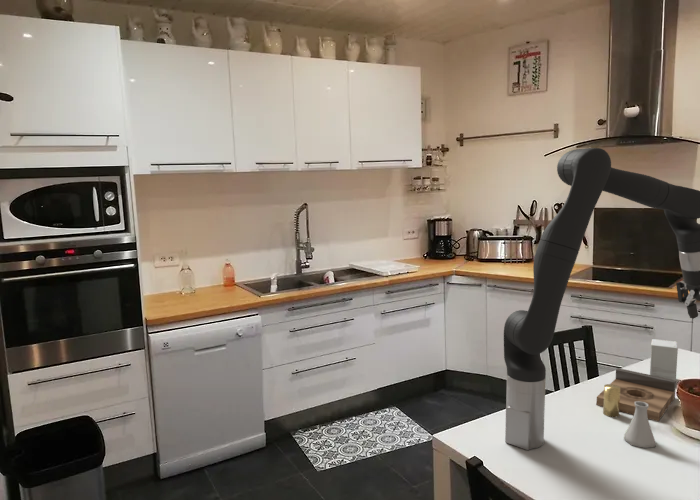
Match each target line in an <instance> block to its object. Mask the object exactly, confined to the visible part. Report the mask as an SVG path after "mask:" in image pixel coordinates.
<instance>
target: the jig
mask: <svg viewBox="0 0 700 500" xmlns="http://www.w3.org/2000/svg"><path fill="white" fill-rule="evenodd" d="M610 384H613V385H617V386H619V387H620V405H619V412H621V413H625V414H629V415H633V416H634V413H635V409H636V406H635V402H637V401H641V402H645V403H647V404H649V408H647V416H648V420H652V421H656V422H659V421H660V420H661V418H662V417H663V416H664V414H665V413H666V412H667V410H668V409H669V407H670V406H671V404H672V403H673V401H674V400H675V399H676V389H677V388H676V386H677V385H676V384H677V379H676V380H672V379H667V378H663V377H658V376H653V375H650V374H647V373H643V372H638V371H633V370H629V369H624V368H620V367H619V368H618V367H617V368H616V369H615V378H614V379H613V381H612V382H610ZM671 402H672V403H671ZM603 403H604V389H603V390H602V391H601V392H600V393H599V394H597V396H596V404H595V405H596V406H599V407H602V408H603ZM669 405H670V406H669Z"/></svg>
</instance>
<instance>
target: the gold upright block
mask: <svg viewBox="0 0 700 500" xmlns="http://www.w3.org/2000/svg"><path fill="white" fill-rule="evenodd" d="M603 390H604V403H603V407H602V409H603V410H602V414H603V415H604V416H606V417H609V418H618V417H619V416H620V411H619V405H620V387H619V386H617V385H613V384H611V383H609V384H604V387H603Z"/></svg>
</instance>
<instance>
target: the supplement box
mask: <svg viewBox="0 0 700 500" xmlns="http://www.w3.org/2000/svg"><path fill="white" fill-rule="evenodd" d="M678 351H679V348H678V342H677V341H674V340H673V341H672V340H666V339H665V340H664V339H655V338H654V339H653V338H652V339H651V343H650V361H649V363H650V364H649V365H650V366H649V367H650V368H649V375H653V376H658V377H663V378H667V379H672V380H676V381H677V372H678V371H677V369H678V368H677V367H678Z"/></svg>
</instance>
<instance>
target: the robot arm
mask: <svg viewBox="0 0 700 500" xmlns="http://www.w3.org/2000/svg"><path fill="white" fill-rule="evenodd" d="M557 162H558V163H557V165H556V172H557V175H558V177H559V179H560V180H561V182H563V183H564V184H566V185H567V186H570V190H569V192H568V196H567V197H566V200H565V202H564V204H563V205H562V207H561V208H560V209H559V211H558V213H557V214H555V216H554V217H553V218H552V219H551V220H550V222H549V223H548V224H547V226H546V228H545V229H544V230H543V232H542V234H541V237H540V240H539V242H538V245H537V247H536V250H535V254H534V259H533V269H532V270H533V294H532V299H531V301H530V304H529V306H528V309H527V310H523V309H520V310H515V311H514V312H511V314H510V315H509V316H508V317H507V318H506V320H505V323H504V327H503V359H504V363H505V366H506V396H505V397H506V399H505V401H506V404H505V405H506V407H505V432H504V433H505V440H504V441H505V443H506V444H510V445H512V446H515V447H517V448H521V449H523V450H526V451H530V450H531V449H537V448H540V447H542V446H543V445H544V443H545V441H544V440H545V438H544V437H545V412H546V411H545V410H546V409H545V405H546V404H545V403H546V375H547V373H546V372H547V370H546V369H547V368H546V366H545V363H544V361H543V360H542V358H541V354H542V353H544V352H545V351H546V350H547V349H548V348H549V346H550V345H551V343H552V341H553V338H554V335H555V331H556V327H557V323H558V322H557V321H558V318H559V312H560V308H561V305H562V303H563V302H562V301H563V298H564V296H565V293H566V289H567V287H568V283H569V280H570V277H571V274H572V271H573V269H574V267H575V264H576V260H577V257H578V256H579V251H580V250H581V246H582V243H583V239H584V237H585V234H586V231H587V229H588V226H589V223H590V221H591V218H592V215H593V212H594V210H595V208H596V205H597V203H598V201H599V199H600V197H601V195H602V193H603V192H605V193H608V194H612V195H615V196H618V197H621V198H623V199H627V200H629V201H631V202H635V203H638V204H640V205H643V206H645V207H648V208H649V207H650V208H652V209H654V210H662V211H663V212H664V215H665V217H666V219H667V221H668V224H669V226H670V227H671V230H672V231H673V233H674V234H675V238H676V243H677V249H678V256H679V257H678V258H679V263H680V269H681V273H682V280H680V281H678V282H676V283H675V284H676V285H675V286H676V292H677V300H678V302H679V303H684V305H685V306H686V309H687V314H688V316H689V318H690V319H696V318H698V316H699V313H698V312H699V311H698V307H697V303H696V302H697V301H698V302H699V301H700V223H698V222H697V221H696V220H697V219H700V190H698V189H694V188H691V187H685V186H682V185H676V184H672V183H668V182H667V181H665V180H662V179H659V178H656V177H653V176H650V175H647V174H643V173H639V172H634V171H633V172H632V171H628V170H623V169H618V168H615V167H612V160H611V156H610V154H609V152H607V151H606V150H605V149H603V148H601V147H587V148H576V149H571V150H569V151H567V152H565V153H563V155H562V156H561V157H560V158H559V160H558V161H557Z"/></svg>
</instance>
